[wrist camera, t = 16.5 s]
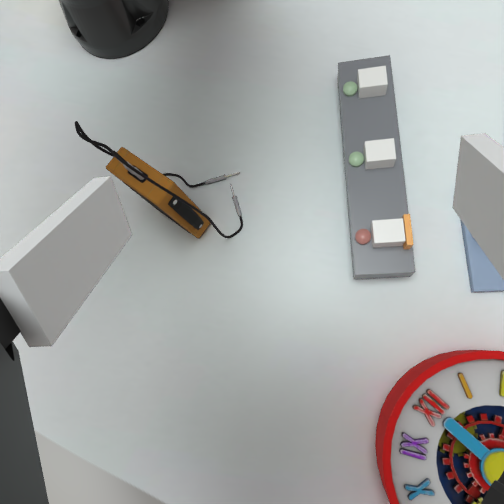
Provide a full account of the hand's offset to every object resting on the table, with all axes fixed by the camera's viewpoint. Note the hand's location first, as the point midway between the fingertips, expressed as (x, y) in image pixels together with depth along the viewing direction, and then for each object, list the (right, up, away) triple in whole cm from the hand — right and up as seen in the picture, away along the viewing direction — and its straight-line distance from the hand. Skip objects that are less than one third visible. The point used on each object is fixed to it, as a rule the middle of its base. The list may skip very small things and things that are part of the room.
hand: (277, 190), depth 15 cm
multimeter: (-7, +5, +36) cm, 37 cm away
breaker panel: (+13, +7, +32) cm, 35 cm away
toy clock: (+22, -22, +24) cm, 39 cm away
